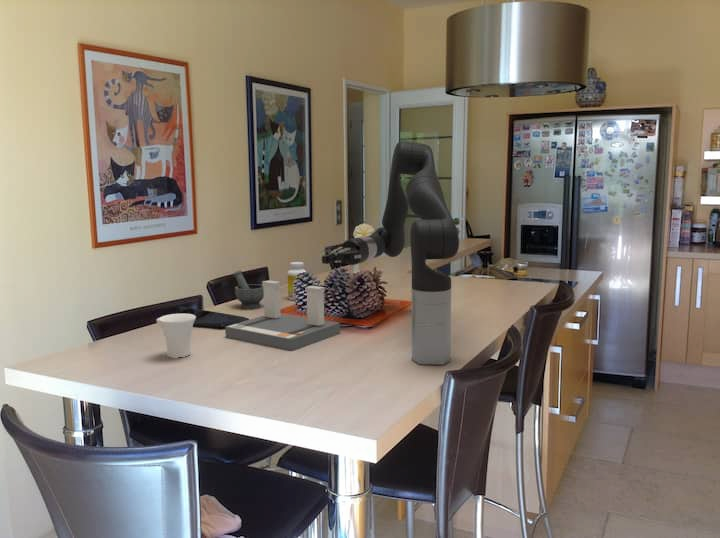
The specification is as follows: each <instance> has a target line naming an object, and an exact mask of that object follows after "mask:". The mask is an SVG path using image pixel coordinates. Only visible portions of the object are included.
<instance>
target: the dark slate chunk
mask: <svg viewBox="0 0 720 538" xmlns="http://www.w3.org/2000/svg"><path fill="white" fill-rule="evenodd" d="M176 314H193V315H195V316H196V319H195V321H194V324H193V327H199V328H200V327H201V328H210V329H223V328H224V329H225V327H226V326H229V325H233V324H236V323H240V322H243V321H247V320H250V318H249V317H245V316H242V315H235V314H229V313H224V312H217V311H211V310H206V309H199V308H192V307H187V306H178V307H177V309H176Z"/></svg>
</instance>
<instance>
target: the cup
mask: <svg viewBox="0 0 720 538" xmlns="http://www.w3.org/2000/svg"><path fill="white" fill-rule="evenodd" d="M195 319H196V316H195V315H193V314H177V313H171V314H166V315H162V316H160V317H158V318H156V323H157V324H158V325H160V327H161V329H162V331H163V335H164V337H165V343H166V350H167V351H166V353H167V357H168V356H169V357H184V356H187V357H189V356H190V355H191V353H192V351H191V340H192V339H191V338H192V331H193V327H194V326H193V324H194V321H195ZM188 355H189V356H188ZM169 357H168V358H169ZM184 358H185V357H184Z"/></svg>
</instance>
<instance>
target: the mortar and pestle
mask: <svg viewBox="0 0 720 538" xmlns="http://www.w3.org/2000/svg"><path fill="white" fill-rule="evenodd" d="M233 277H235V279H236V282H237V284H238V285H237V286H234V292H235V293H234V294H235V296H236V298H237V300H238V302H240V303H241V305H240V308H242V310H256V309H260V308H261V304H260V303H261V302H262V300H264V288H263V286H262V284H256V283H253V284H252V283H251V284H248V283H247V281H246V279H245V277H244V275H243V271H242V270H236V271H235V272H233Z"/></svg>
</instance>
